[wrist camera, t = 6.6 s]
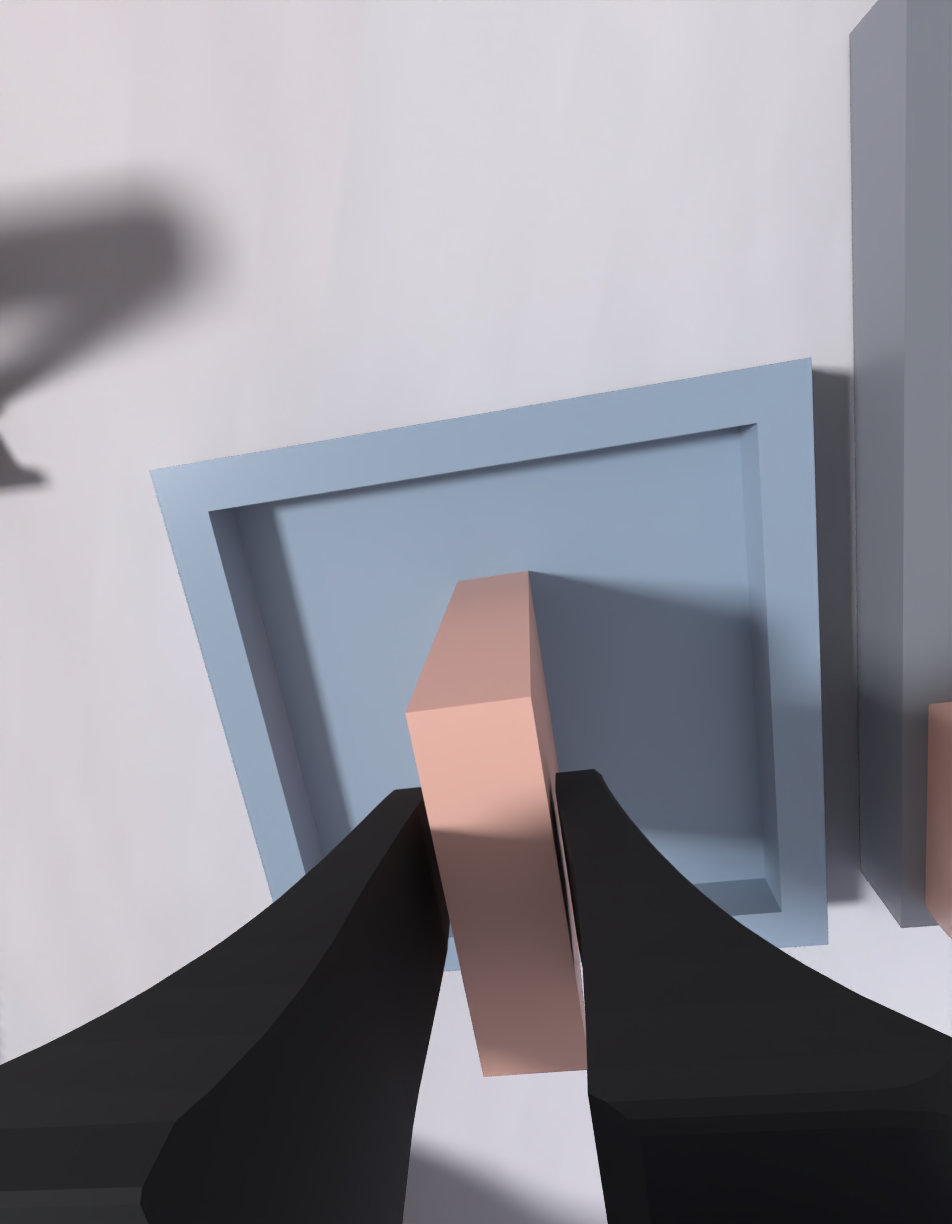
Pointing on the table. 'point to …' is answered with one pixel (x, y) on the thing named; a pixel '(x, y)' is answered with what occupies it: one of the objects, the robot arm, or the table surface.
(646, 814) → the tray
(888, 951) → the table surface
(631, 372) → the table surface
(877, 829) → the slotted grey platform
